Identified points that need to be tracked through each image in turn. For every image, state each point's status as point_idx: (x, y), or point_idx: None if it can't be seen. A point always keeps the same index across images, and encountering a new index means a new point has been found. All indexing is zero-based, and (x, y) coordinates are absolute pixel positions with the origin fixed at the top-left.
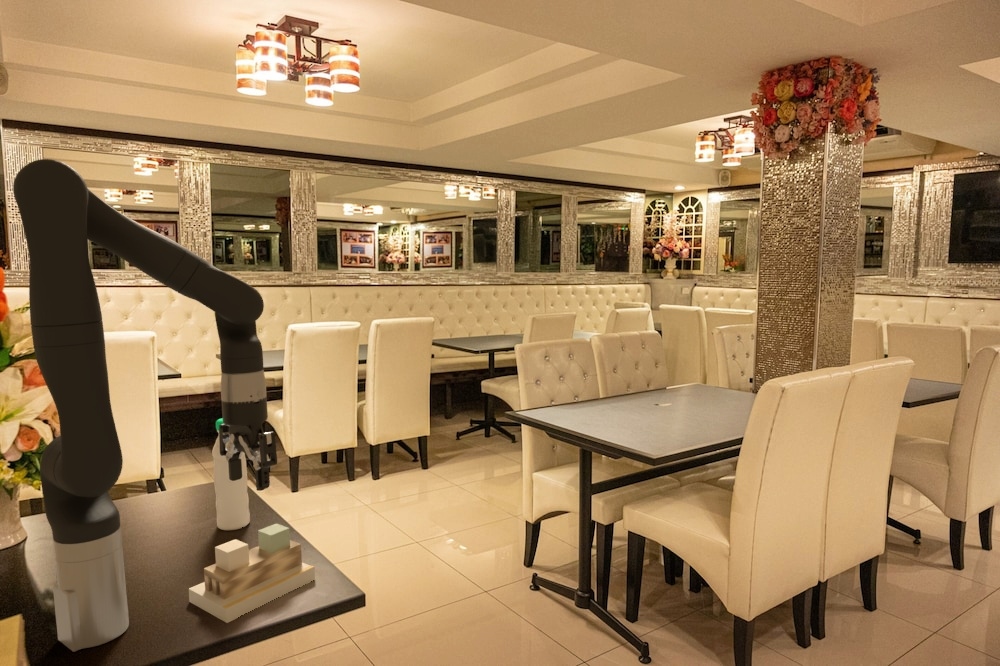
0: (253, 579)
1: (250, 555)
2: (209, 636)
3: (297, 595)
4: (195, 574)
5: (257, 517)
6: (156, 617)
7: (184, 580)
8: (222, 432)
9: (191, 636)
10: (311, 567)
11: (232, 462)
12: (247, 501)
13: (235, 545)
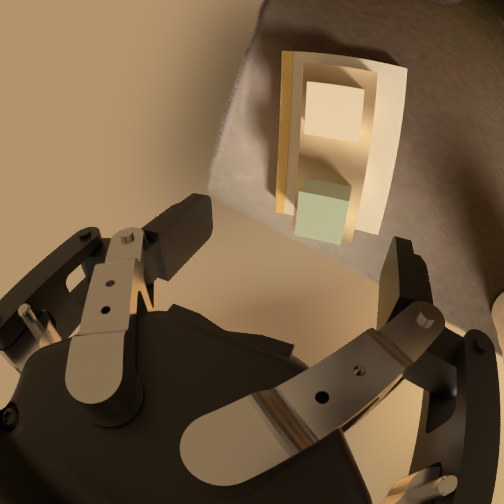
0: None
1: (340, 154)
2: (278, 23)
3: (267, 157)
4: (473, 150)
5: (488, 329)
6: (402, 20)
7: (473, 127)
8: (458, 492)
9: (300, 10)
10: (276, 208)
11: (394, 301)
12: (498, 337)
13: (326, 116)
